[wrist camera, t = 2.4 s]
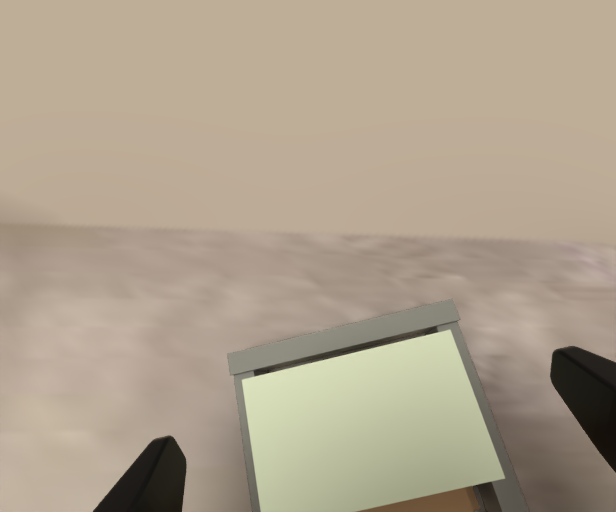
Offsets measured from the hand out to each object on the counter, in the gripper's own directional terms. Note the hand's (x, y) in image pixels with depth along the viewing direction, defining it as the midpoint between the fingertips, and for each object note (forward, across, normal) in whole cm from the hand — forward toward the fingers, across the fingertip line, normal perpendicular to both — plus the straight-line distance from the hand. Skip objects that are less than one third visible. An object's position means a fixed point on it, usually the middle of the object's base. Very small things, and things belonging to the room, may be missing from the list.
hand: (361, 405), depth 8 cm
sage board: (+7, 0, +8) cm, 11 cm away
